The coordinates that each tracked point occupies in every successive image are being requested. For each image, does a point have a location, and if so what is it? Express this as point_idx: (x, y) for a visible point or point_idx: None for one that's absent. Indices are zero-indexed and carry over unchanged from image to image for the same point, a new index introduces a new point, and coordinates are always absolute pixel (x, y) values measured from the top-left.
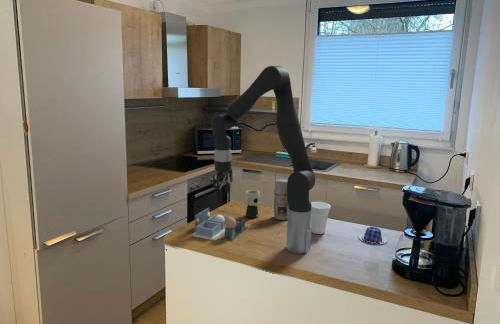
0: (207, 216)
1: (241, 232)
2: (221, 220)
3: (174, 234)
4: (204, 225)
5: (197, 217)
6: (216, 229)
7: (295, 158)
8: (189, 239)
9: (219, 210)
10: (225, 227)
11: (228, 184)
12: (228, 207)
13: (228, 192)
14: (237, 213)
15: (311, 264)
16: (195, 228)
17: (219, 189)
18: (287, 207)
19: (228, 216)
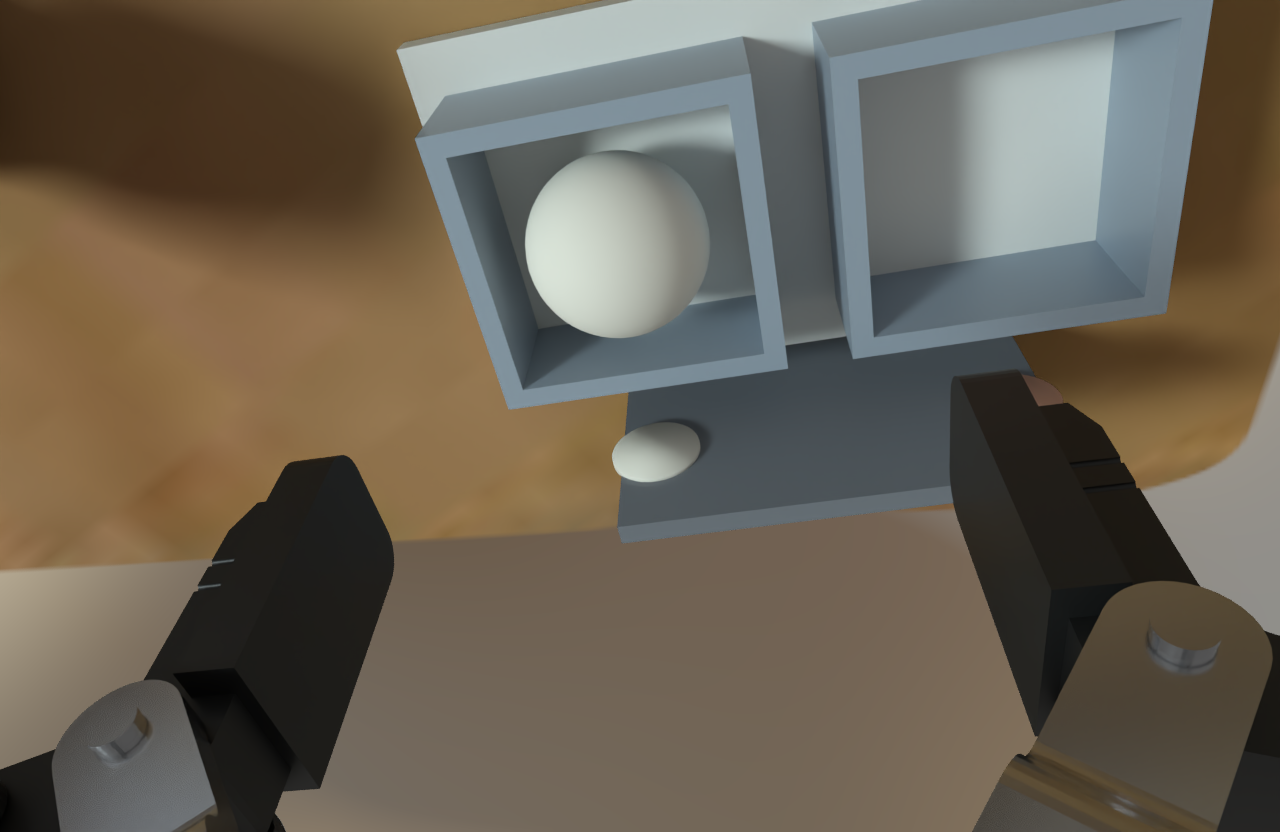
0: (688, 432)
1: None
2: (657, 178)
3: (1167, 461)
4: (905, 302)
5: None
6: (1020, 5)
7: None
8: (1265, 228)
9: (177, 539)
10: (651, 56)
11: (232, 708)
12: (4, 523)
13: (353, 464)
14: (23, 318)
15: None
16: (1014, 349)
17: (1125, 604)
18: None
19: (441, 188)
